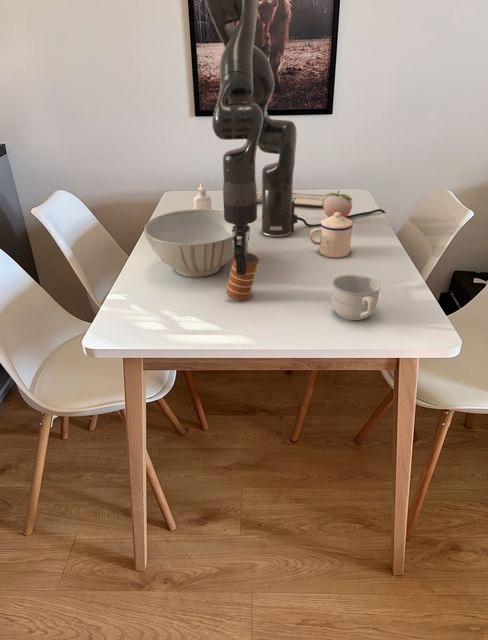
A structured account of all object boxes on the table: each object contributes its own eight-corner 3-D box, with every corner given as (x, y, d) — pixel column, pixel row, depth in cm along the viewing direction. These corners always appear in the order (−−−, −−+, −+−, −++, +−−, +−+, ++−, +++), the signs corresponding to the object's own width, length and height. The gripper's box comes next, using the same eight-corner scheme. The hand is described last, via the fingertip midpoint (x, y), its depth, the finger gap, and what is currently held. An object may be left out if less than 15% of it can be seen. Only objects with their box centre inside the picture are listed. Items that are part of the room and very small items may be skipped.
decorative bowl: (209, 298, 138) (207, 252, 132) (128, 274, 150) (122, 231, 144) (264, 260, 157) (264, 218, 151) (188, 242, 169) (185, 203, 163)
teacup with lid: (347, 246, 166) (350, 207, 160) (352, 258, 158) (356, 218, 152) (306, 246, 166) (308, 208, 159) (310, 259, 158) (312, 219, 152)
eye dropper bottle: (209, 222, 184) (208, 186, 178) (193, 221, 185) (191, 185, 179) (213, 218, 188) (211, 182, 181) (197, 217, 189) (195, 181, 182)
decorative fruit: (319, 224, 182) (321, 193, 177) (324, 216, 189) (326, 186, 183) (348, 226, 180) (351, 196, 174) (352, 218, 186) (355, 188, 181)
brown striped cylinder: (249, 302, 136) (224, 297, 135) (251, 291, 141) (226, 285, 141) (259, 265, 130) (232, 259, 130) (260, 254, 136) (234, 249, 135)
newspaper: (329, 199, 204) (329, 190, 202) (325, 210, 194) (325, 200, 192) (235, 194, 211) (235, 184, 209) (226, 204, 201) (226, 194, 199)
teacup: (325, 304, 135) (327, 273, 130) (369, 302, 135) (373, 271, 131) (338, 333, 123) (341, 301, 119) (386, 331, 124) (391, 298, 119)
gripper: (255, 209, 119) (256, 280, 128) (257, 189, 131) (258, 256, 140) (220, 209, 120) (224, 280, 129) (226, 190, 132) (228, 256, 141)
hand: (242, 267), depth 134 cm, fingers closed on brown striped cylinder, 6 cm apart
